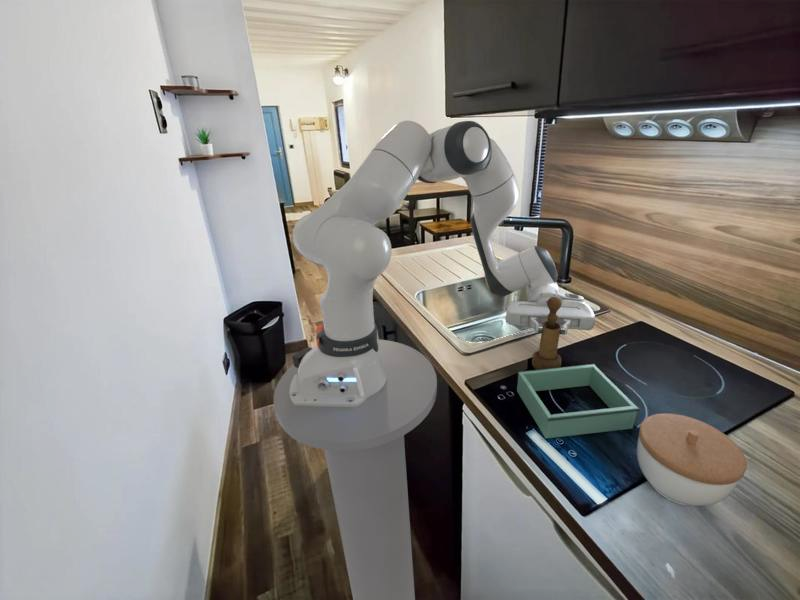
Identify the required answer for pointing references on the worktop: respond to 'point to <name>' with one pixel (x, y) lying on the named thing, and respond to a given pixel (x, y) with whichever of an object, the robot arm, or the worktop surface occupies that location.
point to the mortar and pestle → (549, 339)
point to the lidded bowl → (688, 459)
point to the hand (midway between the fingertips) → (551, 331)
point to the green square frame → (584, 421)
